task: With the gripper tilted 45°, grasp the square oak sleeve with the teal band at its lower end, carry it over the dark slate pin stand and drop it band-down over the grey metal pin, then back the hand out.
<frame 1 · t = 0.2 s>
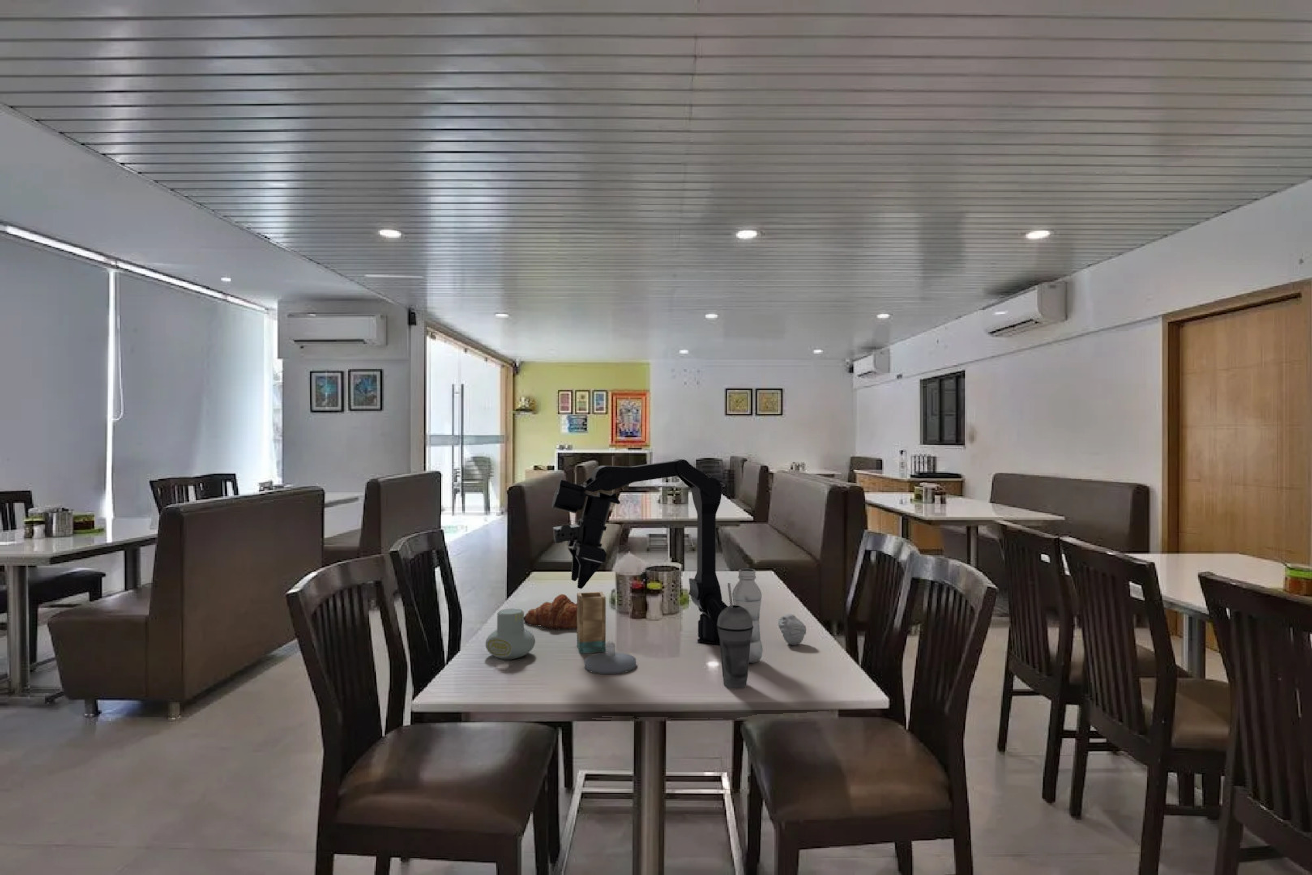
hand: (576, 584, 154), 15 cm above the table, tool tilted 15°, fingers open, 9 cm apart
beverage cup: (735, 685, 133), on the table
air freshener: (510, 656, 151), on the table
pin stand: (610, 665, 144), on the table
banded sleeve: (591, 648, 157), on the table
plastic bottle: (747, 662, 147), on the table
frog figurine: (792, 645, 160), on the table
pastry: (562, 626, 179), on the table
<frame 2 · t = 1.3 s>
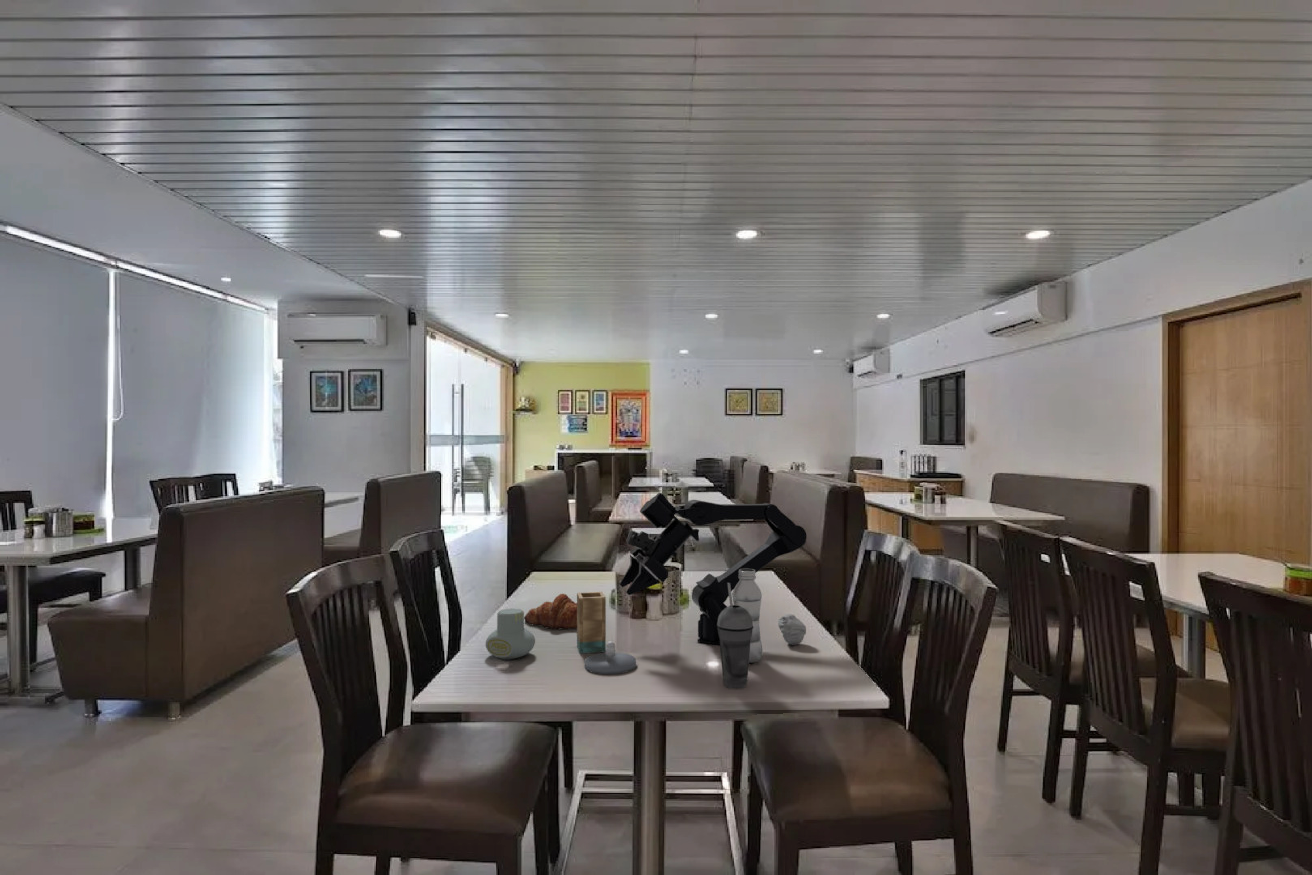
hand: (624, 589, 158), 13 cm above the table, tool tilted 45°, fingers open, 9 cm apart
nothing on the table moved.
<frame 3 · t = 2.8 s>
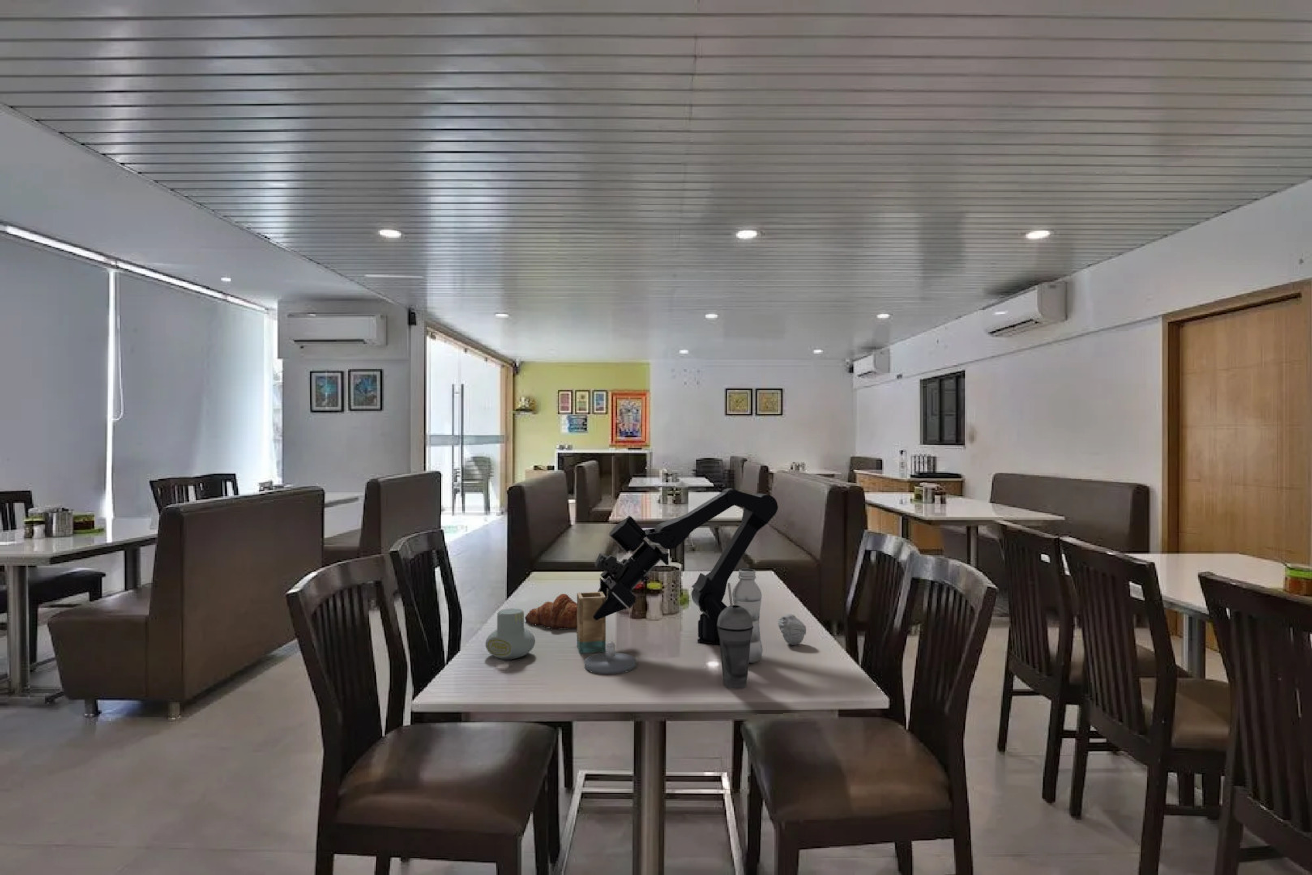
hand: (592, 613, 157), 8 cm above the table, tool tilted 45°, fingers open, 9 cm apart
nothing on the table moved.
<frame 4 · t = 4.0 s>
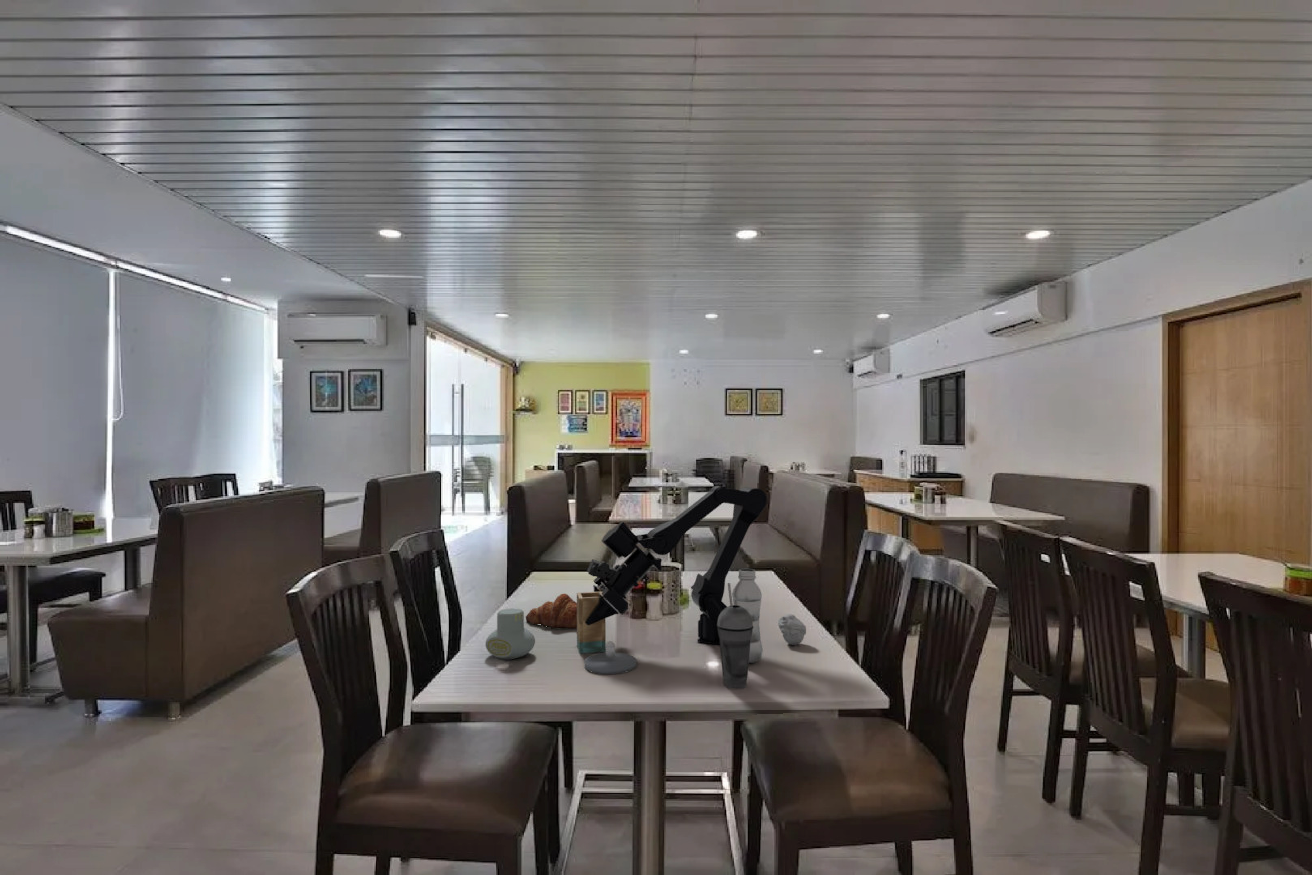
hand: (584, 620, 156), 7 cm above the table, tool tilted 45°, fingers closed on banded sleeve, 6 cm apart
banded sleeve: (591, 648, 157), on the table, touching gripper
everything else where it was.
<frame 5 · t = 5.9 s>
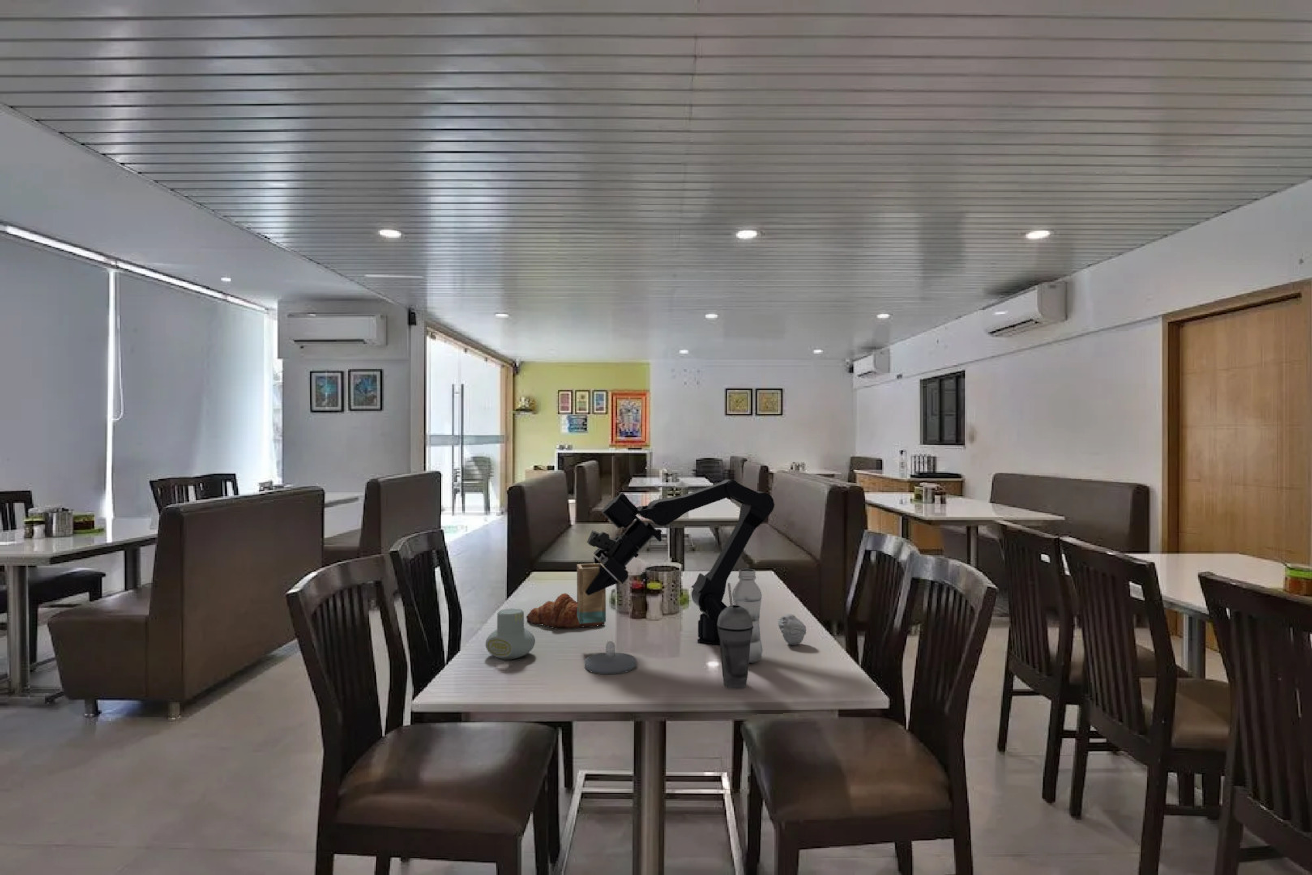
hand: (585, 590, 156), 13 cm above the table, tool tilted 45°, fingers closed on banded sleeve, 6 cm apart
banded sleeve: (591, 619, 157), point 7 cm above the table, touching gripper
everything else where it was.
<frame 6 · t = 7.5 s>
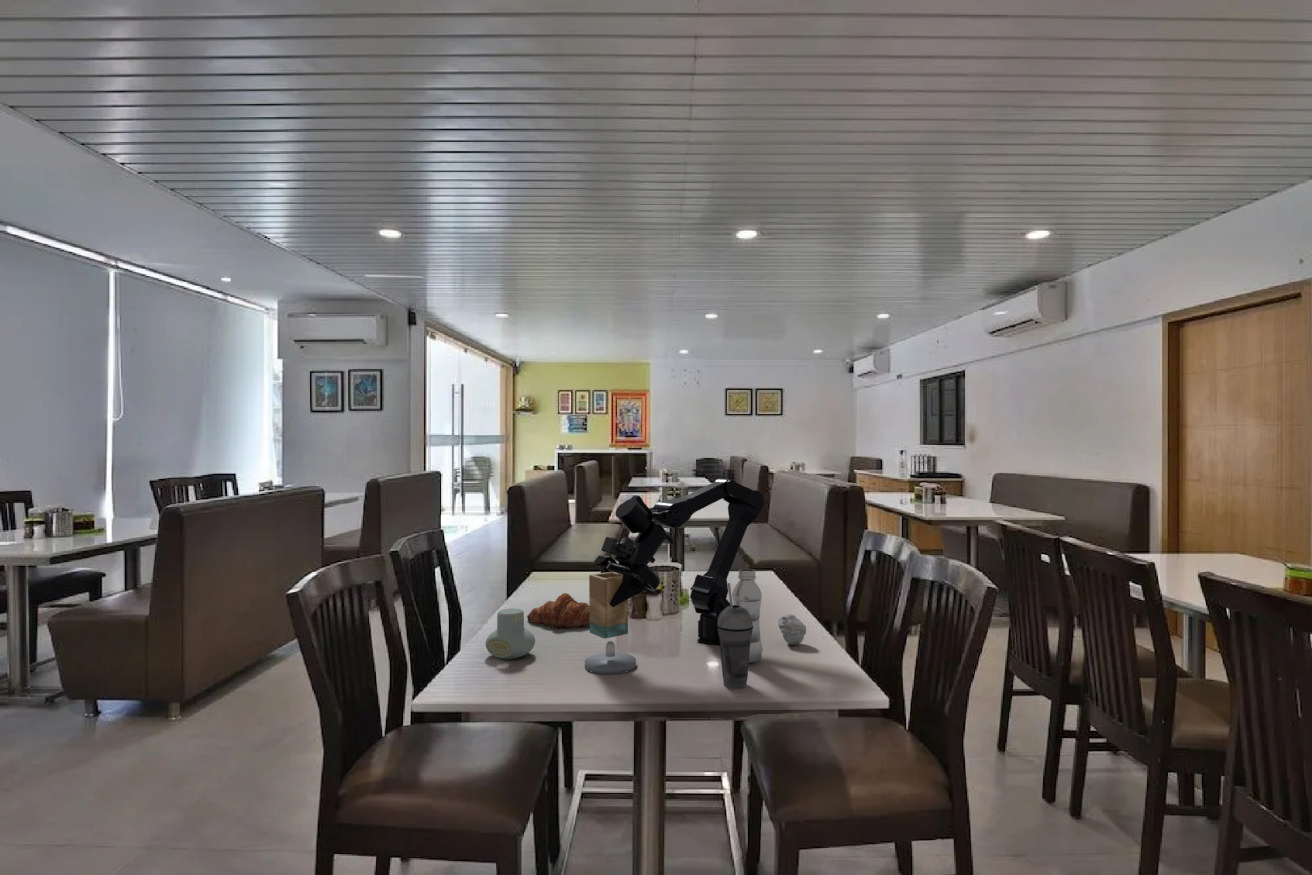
hand: (603, 602, 144), 13 cm above the table, tool tilted 45°, fingers closed on banded sleeve, 6 cm apart
banded sleeve: (608, 633, 145), point 7 cm above the table, touching gripper
when the fingers open (9 cm above the table, at t = 10.2 s): banded sleeve stays where it is, resting on pin stand.
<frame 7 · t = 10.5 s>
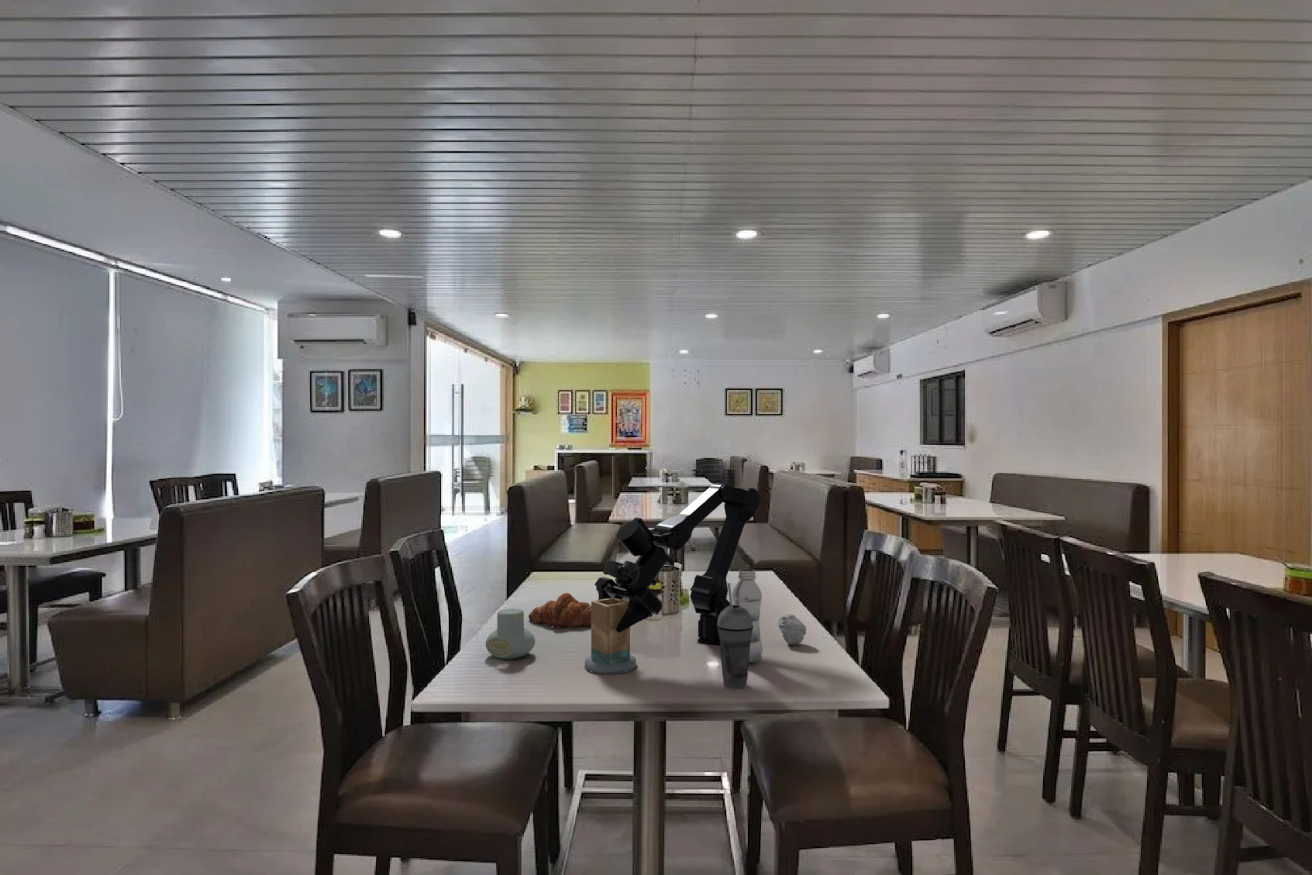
hand: (605, 626, 143), 9 cm above the table, tool tilted 45°, fingers open, 9 cm apart
banded sleeve: (610, 660, 144), point 1 cm above the table, touching pin stand
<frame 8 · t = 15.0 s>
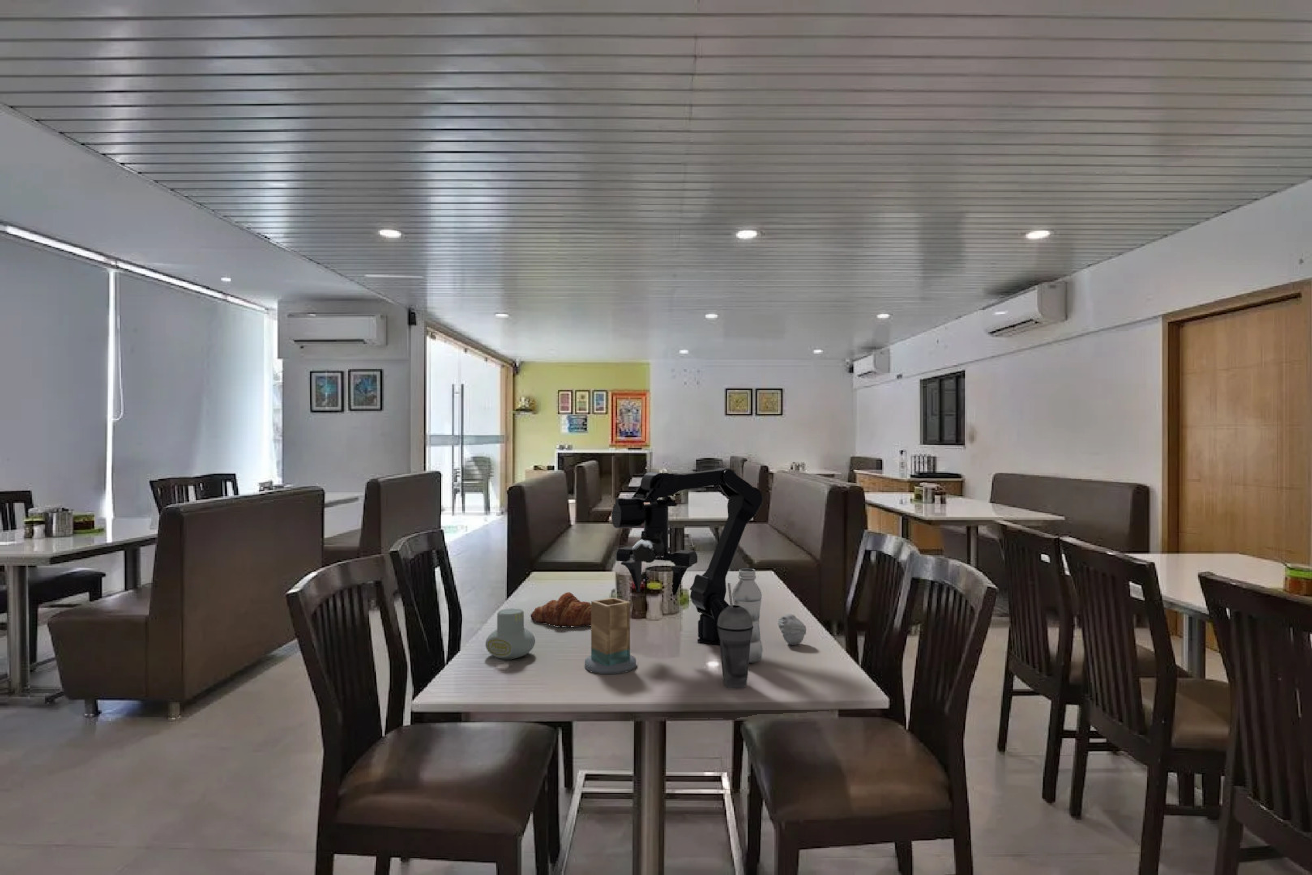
hand: (656, 593, 156), 13 cm above the table, tool pointing down, fingers open, 9 cm apart
at the end: banded sleeve 0.0 cm off-centre on the pin stand, point 1.2 cm above the pin stand's base; banded sleeve tilted 0°; the gripper is holding nothing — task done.
